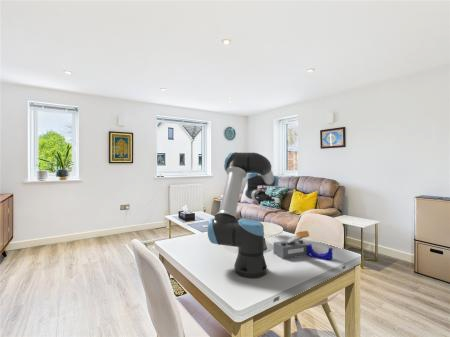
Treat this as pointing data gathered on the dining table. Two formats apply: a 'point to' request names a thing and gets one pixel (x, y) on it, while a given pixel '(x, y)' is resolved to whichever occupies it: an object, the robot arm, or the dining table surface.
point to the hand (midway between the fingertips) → (278, 200)
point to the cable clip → (324, 256)
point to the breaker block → (290, 249)
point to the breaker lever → (298, 237)
